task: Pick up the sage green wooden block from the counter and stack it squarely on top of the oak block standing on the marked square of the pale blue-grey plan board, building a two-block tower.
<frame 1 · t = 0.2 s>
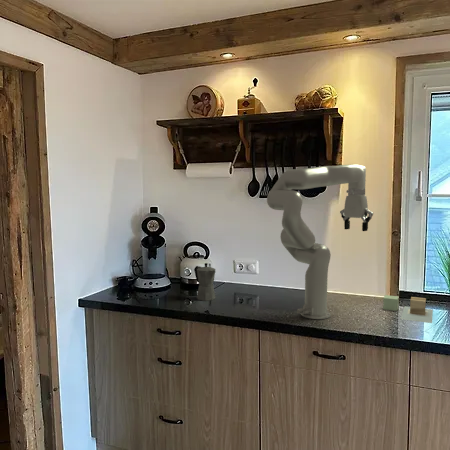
hand: (355, 230, 204), 36 cm above the worktop, tool pointing down, fingers open, 9 cm apart
oak block: (417, 312, 196), point 1 cm above the worktop, touching plan board
coffeepot: (204, 298, 222), on the worktop
plan board: (417, 315, 194), on the worktop
green block: (390, 310, 202), on the worktop
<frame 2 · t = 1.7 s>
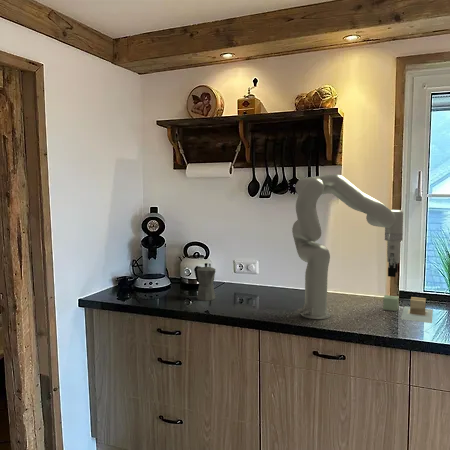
hand: (392, 274, 201), 16 cm above the worktop, tool pointing down, fingers open, 9 cm apart
nothing on the worktop moved.
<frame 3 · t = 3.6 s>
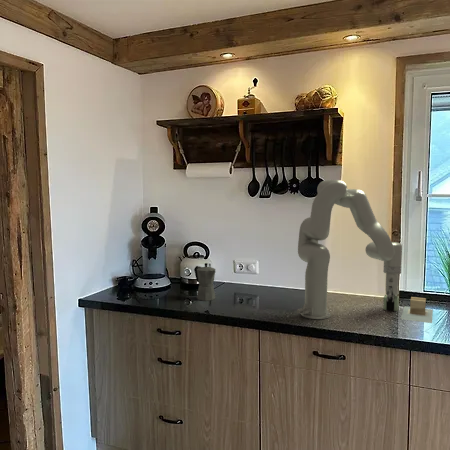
hand: (390, 307, 202), 1 cm above the worktop, tool pointing down, fingers closed on green block, 6 cm apart
green block: (390, 309, 202), on the worktop, touching gripper
everything else where it was.
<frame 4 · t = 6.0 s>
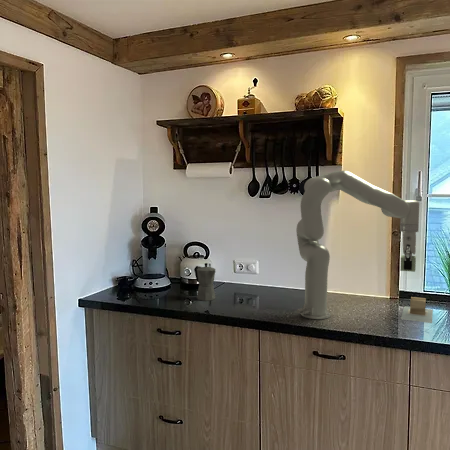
hand: (408, 267, 197), 20 cm above the worktop, tool pointing down, fingers closed on green block, 6 cm apart
green block: (407, 269, 197), point 19 cm above the worktop, touching gripper
everything else where it was.
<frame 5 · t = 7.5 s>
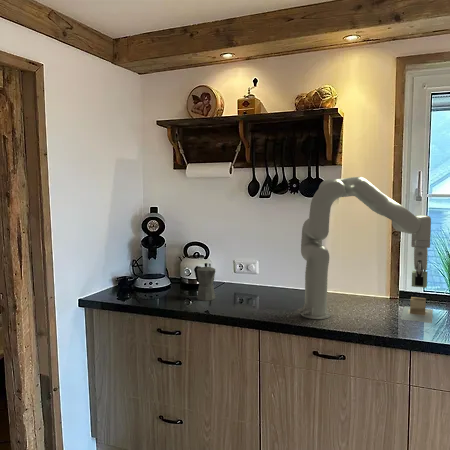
hand: (419, 283, 195), 14 cm above the worktop, tool pointing down, fingers closed on green block, 6 cm apart
green block: (419, 285, 195), point 13 cm above the worktop, touching gripper
everything else where it was.
when the fingers open (9 cm above the worktop, at t = 8.8 s): green block drops 1 cm, resting on oak block.
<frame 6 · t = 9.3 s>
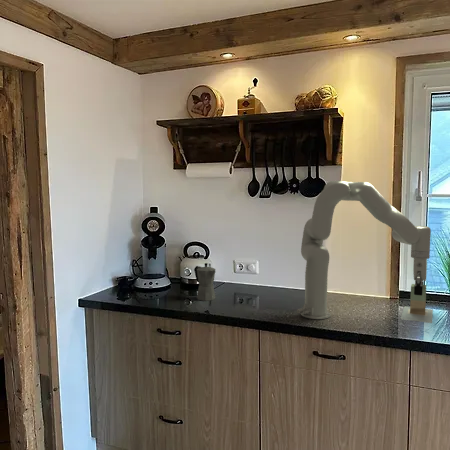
hand: (418, 292, 195), 10 cm above the worktop, tool pointing down, fingers open, 9 cm apart
oak block: (417, 312, 196), point 1 cm above the worktop, touching green block, plan board
green block: (418, 299, 196), point 7 cm above the worktop, touching oak block
everything else where it was.
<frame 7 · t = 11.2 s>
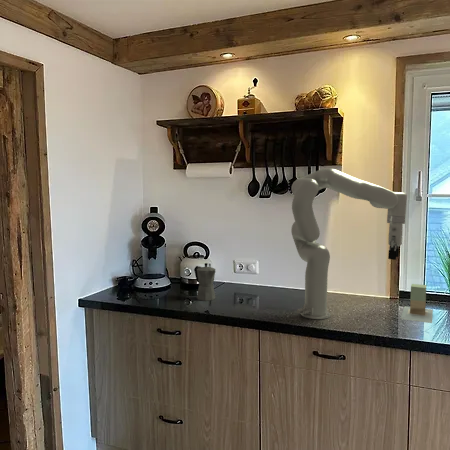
hand: (393, 257, 198), 24 cm above the worktop, tool pointing down, fingers open, 9 cm apart
nothing on the worktop moved.
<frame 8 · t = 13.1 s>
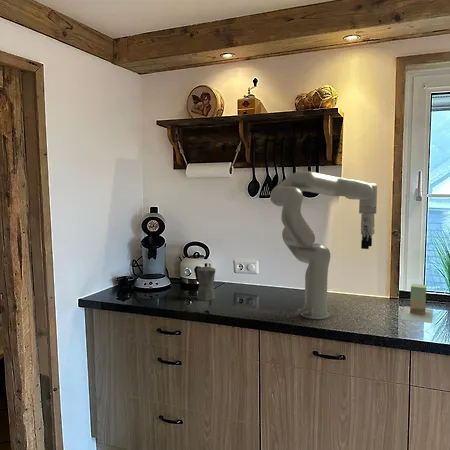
hand: (366, 247, 203), 28 cm above the worktop, tool pointing down, fingers open, 9 cm apart
nothing on the worktop moved.
at the end: green block 0.1 cm off-centre on the oak block, point 6.0 cm above the oak block's base; green block tilted 0°; the gripper is holding nothing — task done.
